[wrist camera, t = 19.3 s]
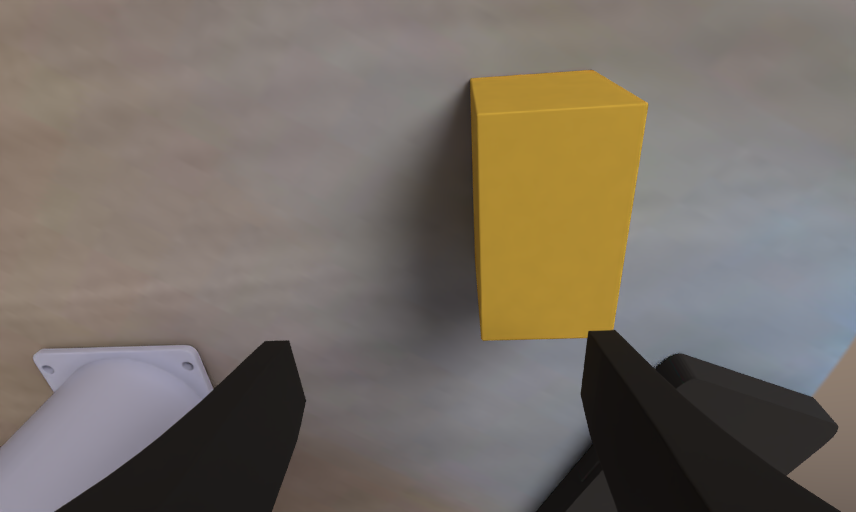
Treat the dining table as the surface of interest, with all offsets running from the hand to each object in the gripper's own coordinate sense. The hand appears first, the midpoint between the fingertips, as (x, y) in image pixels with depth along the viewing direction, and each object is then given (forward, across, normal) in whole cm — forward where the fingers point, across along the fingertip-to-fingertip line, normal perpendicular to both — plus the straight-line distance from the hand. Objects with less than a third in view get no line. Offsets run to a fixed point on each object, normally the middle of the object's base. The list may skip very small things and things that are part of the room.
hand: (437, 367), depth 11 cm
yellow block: (+8, -3, -2) cm, 9 cm away
